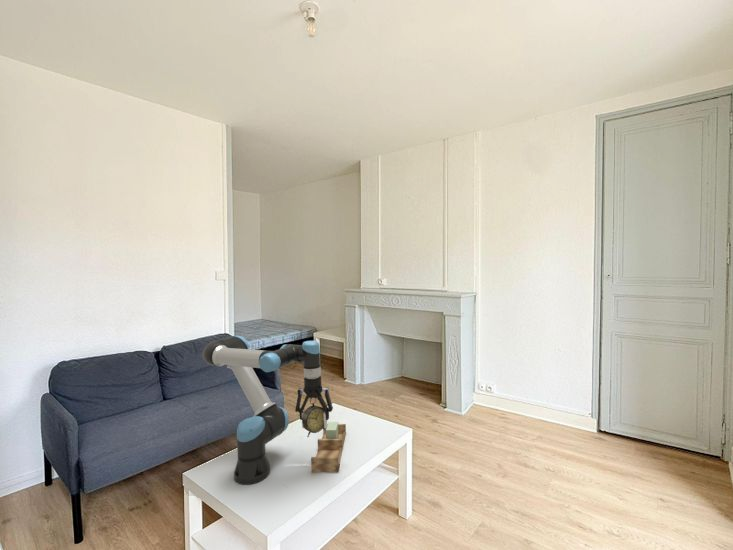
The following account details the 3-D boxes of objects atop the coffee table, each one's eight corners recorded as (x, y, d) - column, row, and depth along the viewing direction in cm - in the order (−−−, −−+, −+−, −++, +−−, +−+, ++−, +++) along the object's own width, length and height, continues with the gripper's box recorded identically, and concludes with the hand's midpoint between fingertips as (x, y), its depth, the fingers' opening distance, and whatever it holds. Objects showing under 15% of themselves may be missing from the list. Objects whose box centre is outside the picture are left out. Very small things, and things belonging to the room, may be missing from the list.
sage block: (326, 445, 175) (325, 430, 174) (329, 436, 184) (328, 421, 183) (336, 445, 174) (335, 430, 174) (338, 436, 183) (338, 421, 183)
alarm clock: (307, 439, 149) (305, 401, 149) (300, 435, 153) (299, 398, 153) (328, 430, 157) (326, 394, 156) (321, 426, 161) (319, 391, 160)
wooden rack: (311, 472, 155) (311, 458, 155) (323, 435, 188) (323, 424, 188) (338, 472, 154) (338, 458, 154) (345, 435, 187) (345, 423, 187)
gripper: (285, 379, 152) (288, 430, 152) (335, 379, 150) (337, 430, 150) (291, 374, 159) (293, 422, 160) (338, 373, 157) (340, 423, 158)
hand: (314, 426), depth 155 cm, fingers closed on alarm clock, 9 cm apart
